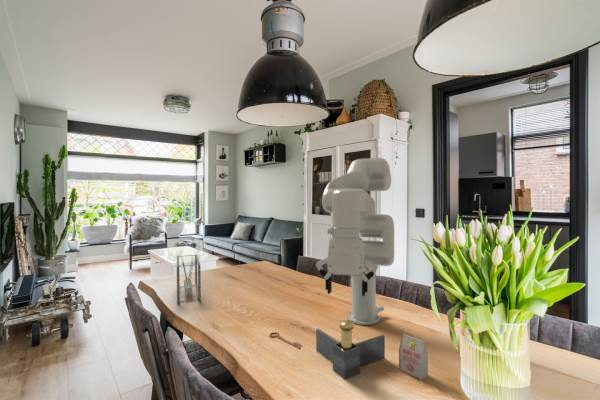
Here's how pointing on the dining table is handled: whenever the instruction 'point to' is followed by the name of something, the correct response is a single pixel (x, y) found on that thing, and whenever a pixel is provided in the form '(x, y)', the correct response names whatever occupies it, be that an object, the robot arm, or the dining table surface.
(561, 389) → the dining table surface
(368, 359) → the bracket
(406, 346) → the tea bag
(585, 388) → the dining table surface
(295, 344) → the key
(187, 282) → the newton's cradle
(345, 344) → the hinge pin
